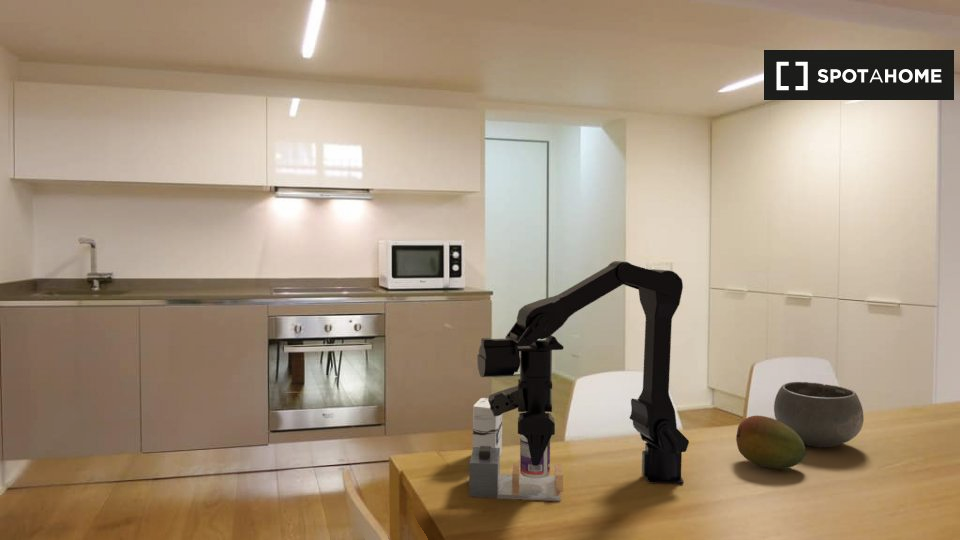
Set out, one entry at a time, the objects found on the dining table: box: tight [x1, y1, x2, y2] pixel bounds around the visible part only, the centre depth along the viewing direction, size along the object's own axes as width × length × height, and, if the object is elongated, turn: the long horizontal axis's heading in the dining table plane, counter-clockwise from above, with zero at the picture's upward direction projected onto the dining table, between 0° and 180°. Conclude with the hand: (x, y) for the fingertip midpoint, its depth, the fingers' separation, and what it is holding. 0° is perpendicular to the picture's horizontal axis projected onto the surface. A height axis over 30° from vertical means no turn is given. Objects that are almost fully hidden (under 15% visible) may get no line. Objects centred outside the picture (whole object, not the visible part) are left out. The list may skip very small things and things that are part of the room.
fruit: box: [735, 415, 806, 470], centre depth 133 cm, size 12×12×10 cm
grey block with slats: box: [468, 446, 564, 502], centre depth 119 cm, size 16×10×7 cm, turn 86°
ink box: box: [472, 397, 503, 456], centre depth 136 cm, size 8×5×12 cm, turn 168°
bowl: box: [773, 381, 864, 448], centre depth 147 cm, size 18×18×13 cm
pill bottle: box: [519, 435, 551, 478], centre depth 119 cm, size 5×5×10 cm
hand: (535, 459), depth 119 cm, fingers closed on pill bottle, 5 cm apart
